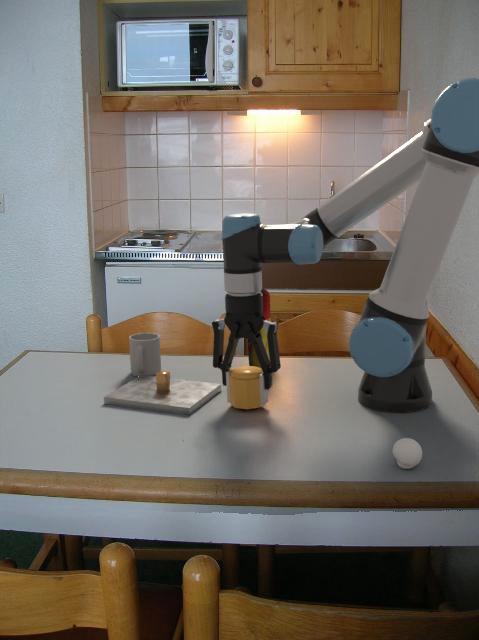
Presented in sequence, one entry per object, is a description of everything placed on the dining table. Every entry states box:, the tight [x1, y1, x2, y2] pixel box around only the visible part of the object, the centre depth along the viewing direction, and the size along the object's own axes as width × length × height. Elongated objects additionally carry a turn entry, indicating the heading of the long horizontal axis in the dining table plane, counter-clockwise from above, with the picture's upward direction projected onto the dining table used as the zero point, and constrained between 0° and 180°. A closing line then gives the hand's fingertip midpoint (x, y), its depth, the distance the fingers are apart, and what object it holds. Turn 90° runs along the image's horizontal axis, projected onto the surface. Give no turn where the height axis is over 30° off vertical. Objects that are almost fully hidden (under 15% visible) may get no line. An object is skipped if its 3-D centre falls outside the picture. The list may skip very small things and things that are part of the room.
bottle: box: [247, 287, 272, 368], centre depth 175 cm, size 12×6×20 cm, turn 167°
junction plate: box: [103, 370, 222, 416], centre depth 159 cm, size 20×16×6 cm
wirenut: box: [229, 365, 262, 410], centre depth 152 cm, size 7×7×7 cm
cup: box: [128, 332, 162, 377], centre depth 175 cm, size 7×10×9 cm
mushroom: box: [391, 437, 423, 470], centre depth 123 cm, size 5×5×5 cm
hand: (247, 402), depth 152 cm, fingers closed on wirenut, 7 cm apart
